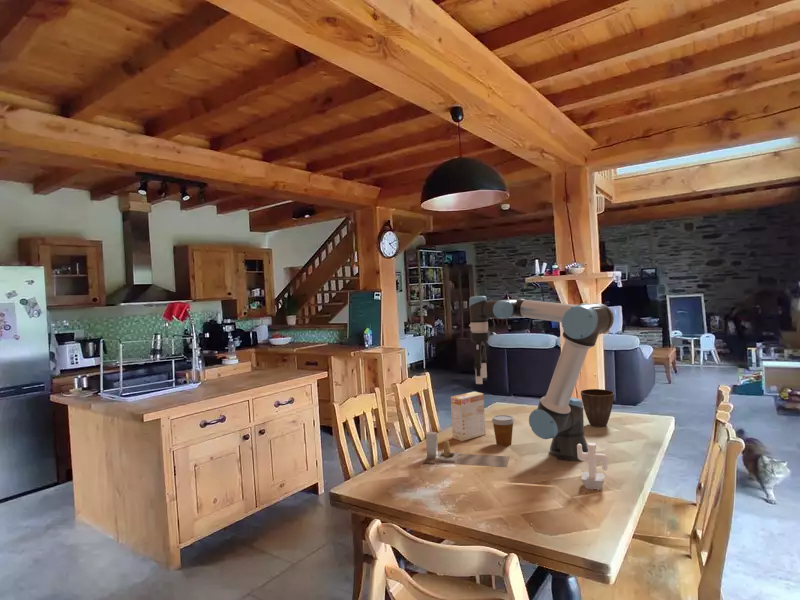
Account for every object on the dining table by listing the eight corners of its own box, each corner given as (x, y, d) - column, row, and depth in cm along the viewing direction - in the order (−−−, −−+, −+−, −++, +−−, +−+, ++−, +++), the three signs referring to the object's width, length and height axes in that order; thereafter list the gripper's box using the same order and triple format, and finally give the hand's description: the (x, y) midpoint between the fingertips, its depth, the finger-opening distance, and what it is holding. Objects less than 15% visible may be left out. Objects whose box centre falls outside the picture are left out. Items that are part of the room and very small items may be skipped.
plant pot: (590, 419, 251) (589, 387, 251) (620, 424, 240) (619, 391, 240) (576, 426, 241) (574, 393, 240) (606, 431, 230) (605, 397, 230)
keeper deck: (509, 457, 202) (509, 438, 202) (507, 468, 191) (506, 448, 191) (430, 453, 212) (429, 435, 212) (423, 463, 201) (422, 444, 201)
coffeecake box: (476, 431, 240) (474, 391, 240) (486, 434, 234) (484, 393, 234) (451, 438, 232) (449, 396, 232) (461, 441, 226) (459, 398, 226)
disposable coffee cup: (490, 447, 216) (489, 419, 216) (495, 440, 225) (494, 414, 224) (513, 449, 212) (512, 421, 212) (516, 442, 221) (515, 415, 221)
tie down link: (459, 455, 207) (457, 431, 206) (455, 462, 199) (453, 437, 198) (430, 453, 210) (429, 430, 210) (425, 460, 202) (424, 435, 202)
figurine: (608, 492, 165) (606, 447, 165) (577, 489, 169) (575, 445, 168) (608, 484, 172) (606, 441, 171) (579, 481, 175) (577, 439, 175)
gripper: (475, 329, 230) (477, 375, 230) (465, 335, 206) (468, 386, 207) (491, 328, 228) (493, 375, 228) (483, 334, 204) (486, 386, 204)
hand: (481, 380), depth 217 cm, fingers open, 13 cm apart
